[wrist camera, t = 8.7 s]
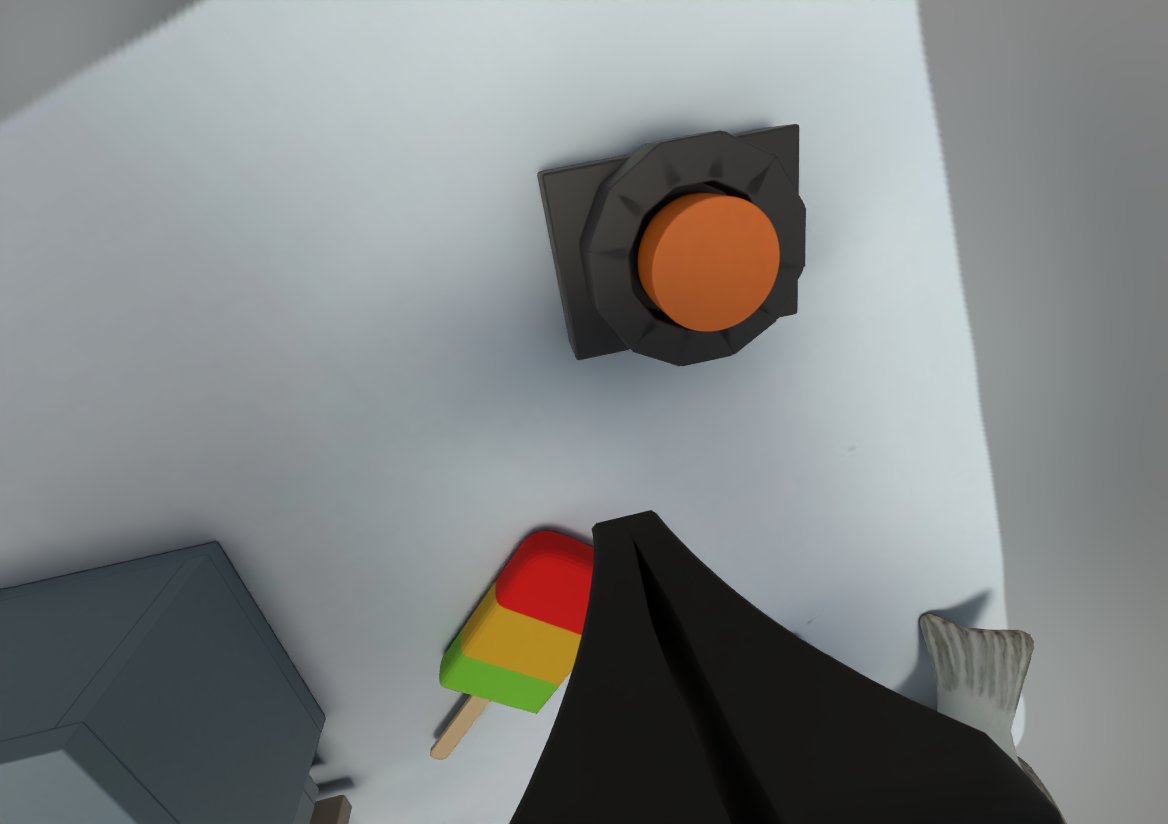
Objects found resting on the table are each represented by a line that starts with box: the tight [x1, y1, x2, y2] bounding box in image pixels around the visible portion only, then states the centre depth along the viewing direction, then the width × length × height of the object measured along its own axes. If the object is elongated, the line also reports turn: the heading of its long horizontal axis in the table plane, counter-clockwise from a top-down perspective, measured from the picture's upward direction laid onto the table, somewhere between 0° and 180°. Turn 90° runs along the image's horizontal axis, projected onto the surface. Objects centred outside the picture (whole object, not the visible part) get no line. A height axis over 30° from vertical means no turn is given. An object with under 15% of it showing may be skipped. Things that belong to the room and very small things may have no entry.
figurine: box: [920, 614, 1067, 824], centre depth 30 cm, size 9×19×10 cm
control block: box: [537, 124, 806, 366], centre depth 17 cm, size 8×6×4 cm
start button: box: [637, 192, 780, 332], centre depth 15 cm, size 4×4×2 cm
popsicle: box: [430, 531, 594, 760], centre depth 26 cm, size 6×15×2 cm, turn 147°
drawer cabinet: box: [0, 542, 325, 824], centre depth 20 cm, size 12×11×9 cm
